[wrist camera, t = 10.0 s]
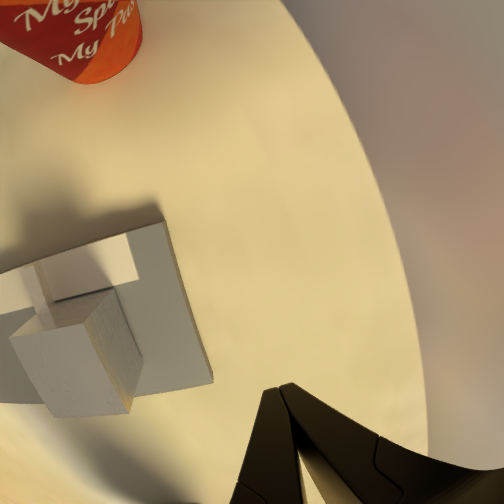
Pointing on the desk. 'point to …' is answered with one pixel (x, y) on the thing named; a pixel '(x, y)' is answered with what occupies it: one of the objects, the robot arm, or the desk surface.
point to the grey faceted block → (78, 351)
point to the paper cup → (74, 35)
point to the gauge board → (131, 302)
